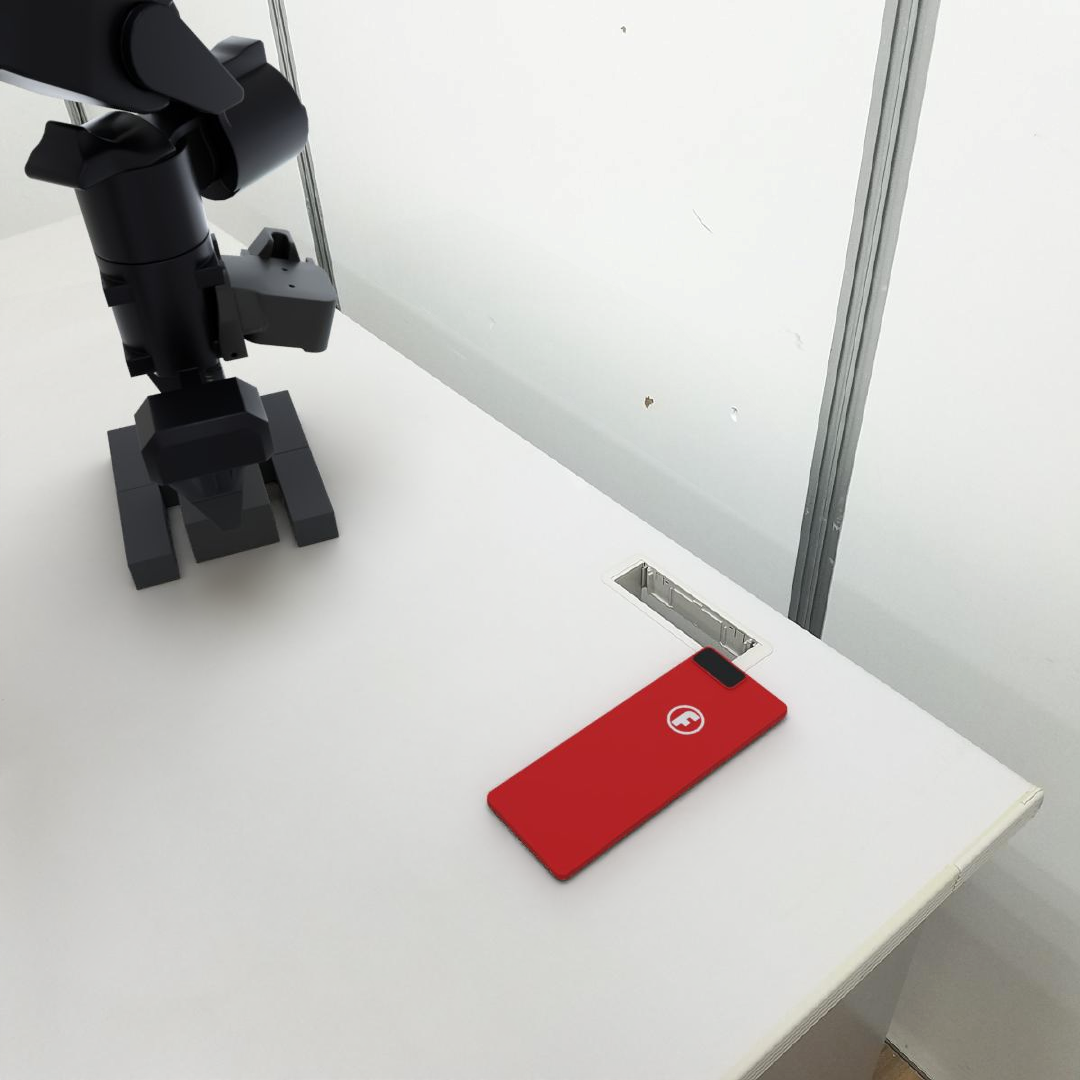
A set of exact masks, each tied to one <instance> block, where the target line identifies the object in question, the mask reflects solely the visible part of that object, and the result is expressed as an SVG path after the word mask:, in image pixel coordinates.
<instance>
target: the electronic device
mask: <svg viewBox="0 0 1080 1080" xmlns="http://www.w3.org/2000/svg"><path fill="white" fill-rule="evenodd" d="M787 715H788V705H787V704H786V702H784V701H783V700H782V699H780V698H779V697H778V696H776V695H775V694H774V693H773V692H771V691H770V690H768V689H767V688H766V687H764V685H762V684H761V683H759V682H758V681H757V680H755V679H754V678H753V677H752V676H751V675H749V674H748V673H746V671H744V670H742V669H741V668H740V667H739V666H737V665H736V664H735V663H734V662H732V661H731V660H730V659H729V658H728V657H726V656H725V655H723V654H722V653H721V652H720V651H718V649H715V648H714V647H712V646H705V647H701V649H699V650H698V651H695V653H693V654H692V655H690V656H689V657H687V658H686V659H684V660H683V661H681V662H680V663H679V664H677V665H676V666H674V667H672V668H671V669H669V670H668V671H667V672H665V673H663V674H662V675H660V676H659V677H658V678H656V679H655V680H653V681H652V682H650V683H648V684H647V685H646V686H644V687H643V688H641V689H640V690H638V691H637V692H636V693H634V694H632V695H630V696H629V697H628V698H626V699H625V700H623V701H622V702H620V703H619V704H618V705H616V706H615V707H613V708H612V709H610V710H608V711H607V712H606V713H604V714H603V715H601V716H600V717H598V718H597V719H595V720H594V721H592V722H591V723H589V724H588V725H586V726H585V727H583V728H582V729H581V730H579V731H577V732H576V733H574V734H572V736H570V737H568V738H567V739H565V740H563V741H562V742H561V743H560V744H558V745H557V746H555V747H554V748H552V749H551V750H549V751H547V752H546V753H545V754H543V755H541V756H540V757H539V758H537V759H535V760H534V761H532V762H531V763H530V764H528V765H527V766H525V767H524V768H522V769H521V770H519V771H518V772H516V773H515V774H513V775H512V776H510V777H509V778H508V779H506V780H504V781H503V782H501V783H500V784H499V785H497V786H495V787H494V788H492V789H491V790H489V791H488V793H487V795H486V803H487V806H488V808H490V809H491V810H492V811H493V812H494V814H495V815H496V816H497V817H498V818H499V819H500V820H501V821H502V822H503V823H504V824H505V826H506V827H508V829H509V830H511V832H512V833H513V834H514V835H515V836H516V837H517V838H518V839H519V840H520V841H521V843H523V844H524V845H525V847H527V849H528V850H529V851H530V852H531V853H532V854H533V855H534V857H536V859H538V860H539V861H540V862H541V864H542V865H543V866H544V867H545V868H546V869H547V870H548V871H549V872H550V873H551V875H553V876H554V878H556V879H557V880H560V881H566V880H569V879H570V878H572V876H574V875H576V874H577V873H578V872H580V871H581V870H582V869H583V868H585V867H586V866H588V865H589V864H590V863H592V862H593V861H594V860H596V859H598V857H600V856H601V855H603V853H606V852H607V850H609V849H610V848H612V847H613V846H614V845H616V844H617V843H618V842H620V841H621V840H622V839H624V838H625V837H626V836H628V835H629V834H631V833H632V832H633V831H634V830H636V829H637V828H639V827H640V826H641V825H642V824H644V823H646V821H649V819H650V818H653V816H654V815H656V814H657V813H658V812H660V811H661V810H662V809H664V808H665V807H667V806H668V805H670V804H671V803H672V802H673V801H675V800H676V799H677V798H679V797H680V796H681V795H683V794H685V792H687V791H688V790H689V789H691V788H692V787H694V786H695V785H697V784H698V783H699V782H700V781H701V780H703V779H704V778H706V777H707V776H708V775H709V774H711V773H712V772H714V771H715V770H716V769H718V768H719V767H720V766H722V765H723V764H724V763H726V762H727V761H728V760H730V759H731V758H732V757H734V756H735V755H736V754H738V753H739V752H741V751H742V750H743V749H744V748H746V747H747V746H749V745H750V744H752V743H753V742H754V741H755V740H756V739H758V738H759V737H761V736H762V735H763V734H764V733H767V731H769V730H770V729H771V728H772V727H774V726H775V725H776V724H778V723H780V721H782V720H784V718H786V717H787Z"/></svg>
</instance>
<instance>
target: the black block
mask: <svg viewBox="0 0 1080 1080" xmlns="http://www.w3.org/2000/svg"><path fill="white" fill-rule="evenodd" d="M177 493H178V492H177ZM178 498H179V502H180V504H179V507H180V511H181V516H182V520H183V524H184V528H185V531H186V534H187V537H188V540H189V544H190V547H191V550H192V552H193V556H194V559H195V562H196V563H198V564H199V563H201V562H206V561H209V560H213V559H217V558H218V559H219V558H221V557H225V556H229V555H233V554H237V553H240V552H243V551H248V550H251V549H252V550H253V549H256V548H259V547H263V546H267V545H271V544H276V543H279V542H280V541H281V539H280V536H279V532H278V528H277V523H276V520H275V519H276V518H275V515H274V511H273V506H272V504H271V503H272V502H271V499H270V497H269V493H268V491H267V488H266V485H265V483H264V481H263V478H262V475H261V471H260V468H259V465H258V463H256V464H252V465H248V466H246V467H245V473H244V487H243V509H242V526H241V527H240V528H239V529H235V530H231V531H227V532H223V531H221V530H220V529H219V528H218V527H217V526H216V525H214V524H213V523H212V522H211V521H210V520H209V519H208V518H207V517H206V516H204V515H203V514H202V513H201V512H200V511H199V510H198V509H197V508H196V507H195V506H193V505H192V504H191V503H190V502H189V501H188V500H186V499H185V498H184V497H183V496H182V495H181V494H179V493H178Z"/></svg>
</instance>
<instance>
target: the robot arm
mask: <svg viewBox="0 0 1080 1080" xmlns="http://www.w3.org/2000/svg"><path fill="white" fill-rule="evenodd" d="M180 14H181V13H180V11H179V9H178V7H177V5H176V4H175V1H174V0H0V82H1V83H5V84H7V85H10V86H14V87H17V88H19V89H23V90H26V91H28V92H32V93H34V94H38V95H40V96H45V97H51V98H56V99H60V100H66V101H71V102H76V103H80V104H81V103H82V104H86V105H91V106H97V107H101V108H107V109H111V111H108V112H105V113H103V114H101V115H99V116H97V117H95V118H93V119H91V120H88V121H87V122H85V123H82V124H81V125H79V124H74V123H69V122H64V121H58V120H54V119H49V120H47V121H46V123H45V126H44V131H43V134H42V136H41V139H40V140H39V142H38V143H37V144H36V145H35V147H34V148H33V149H32V150H31V152H30V154H29V156H28V158H27V161H26V163H25V165H24V169H23V170H24V174H25V175H26V176H27V178H29V179H31V180H35V181H39V182H45V183H49V184H52V185H57V186H62V187H66V188H70V189H73V190H74V193H75V196H76V200H77V203H78V206H79V208H80V212H81V216H82V219H83V221H84V225H85V228H86V231H87V234H88V237H89V240H90V243H91V246H92V251H93V253H94V257H95V259H96V263H97V266H98V269H99V270H98V272H99V275H100V282H101V288H102V291H103V292H102V293H103V295H104V298H105V301H106V304H107V307H108V308H111V310H112V314H113V317H114V320H115V323H116V326H117V329H118V332H119V335H120V338H121V341H122V342H121V343H122V344H121V345H122V348H123V354H124V360H125V363H126V367H127V370H128V373H129V376H130V378H136V377H140V376H145V375H146V376H147V377H148V378H149V379H150V381H151V382H152V383H153V385H154V386H155V388H156V389H157V390H158V391H159V393H155V394H150V395H147V396H146V397H145V398H144V400H143V402H142V403H141V405H140V406H139V407H138V409H137V410H136V412H134V414H133V417H134V423H135V424H136V429H137V435H138V440H139V445H140V451H141V454H142V458H143V461H144V464H145V467H146V470H147V473H148V476H149V479H150V482H152V483H156V484H159V485H162V486H165V485H169V486H170V487H172V488H173V489H174V490H175V491H177V492H178V493H179V494H181V495H182V496H183V497H184V498H185V499H186V500H188V501H189V502H190V503H191V504H192V505H193V506H195V507H196V508H197V509H198V510H199V511H200V512H201V513H202V514H203V515H204V516H206V517H207V518H208V519H209V520H210V521H211V522H212V523H213V524H214V525H216V526H217V527H218V528H219V529H220V530H221V531H223V532H227V531H231V530H235V529H239V528H240V527H241V526H242V509H243V487H244V473H245V467H246V466H248V465H252V464H256V463H261V462H265V461H267V460H268V459H269V458H270V457H271V456H272V455H273V454H274V453H275V447H274V443H273V439H272V434H271V430H270V426H269V422H268V419H267V416H266V413H265V410H264V407H263V404H262V401H261V398H260V396H261V395H260V392H259V390H258V387H257V386H255V385H253V384H251V383H249V382H247V381H245V380H243V379H241V378H239V377H237V376H232V377H226V374H225V369H224V367H223V363H222V361H224V362H232V361H236V360H241V359H245V358H249V353H248V348H247V345H246V341H247V342H250V343H251V344H255V345H262V346H271V347H272V346H273V347H281V348H293V349H302V350H303V352H305V353H310V354H311V353H312V354H318V353H319V354H320V353H323V352H325V351H327V349H328V346H329V341H330V338H331V337H330V336H331V331H332V326H333V322H334V317H335V312H336V309H337V308H336V307H337V303H338V298H339V296H338V294H337V292H336V290H335V287H334V286H333V284H332V282H331V280H330V278H329V275H328V274H327V272H326V270H325V269H324V268H323V267H321V266H319V265H317V264H316V262H315V260H314V259H313V257H305V260H304V261H302V260H301V258H300V254H299V251H298V249H297V246H296V244H295V241H294V239H293V237H292V234H291V233H290V230H287V229H282V228H275V227H267V226H265V227H263V228H262V229H261V231H260V232H259V233H258V234H257V236H256V237H255V238H254V240H253V241H252V242H251V243H250V245H249V246H248V248H241V249H240V255H233V254H221V251H220V246H219V243H218V240H217V237H216V234H215V233H214V232H211V231H210V228H209V223H208V219H207V214H206V210H205V206H204V202H203V198H204V199H206V200H210V201H214V202H215V201H216V202H218V201H220V202H221V201H226V200H229V199H231V198H233V197H236V195H238V194H240V193H241V192H243V191H244V190H246V189H247V188H249V187H250V186H253V185H255V184H256V183H257V182H259V181H261V180H262V179H264V178H265V177H267V176H269V175H270V174H272V173H273V172H275V171H276V170H278V169H280V168H281V167H283V166H284V165H286V164H288V163H289V162H290V161H292V160H294V159H295V158H297V157H298V156H299V155H300V154H301V153H303V151H304V149H305V146H306V145H307V142H308V137H309V132H310V130H309V126H310V125H309V117H308V116H309V115H308V112H307V108H306V106H305V105H304V104H303V103H302V102H301V100H300V98H299V95H298V93H297V92H296V90H295V88H294V87H293V86H292V83H291V82H290V81H289V80H288V79H287V78H286V76H285V75H284V74H283V72H281V71H280V70H279V69H277V68H276V67H275V66H273V64H271V63H270V62H268V59H267V54H266V53H267V52H266V49H265V43H264V42H263V41H262V40H261V39H257V38H251V37H244V36H238V35H231V36H228V37H226V38H224V39H222V40H220V41H219V42H217V43H216V44H215V45H214V46H213V47H212V48H211V49H209V48H208V46H206V45H205V43H203V41H202V39H200V38H199V37H198V36H197V35H196V33H195V32H194V31H193V30H192V29H191V28H190V27H189V25H188V24H187V23H186V22H185V21H184V19H182V18H181V15H180ZM112 110H113V111H112ZM221 359H222V361H221ZM135 424H134V425H135Z"/></svg>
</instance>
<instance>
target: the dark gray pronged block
mask: <svg viewBox="0 0 1080 1080" xmlns="http://www.w3.org/2000/svg"><path fill="white" fill-rule="evenodd" d="M260 398H261V401H262V404H263V407H264V410H265V413H266V416H267V419H268V422H269V426H270V430H271V434H272V439H273V443H274V447H275V453H274V454H273V455H272V456H271V457H270V458H269V459H268V460H267V461H265V462H261V463H258V465H259V468H260V471H261V475H262V478H263V481H264V484H265V483H269V482H273V481H276V483H277V488H278V489H279V492H280V495H281V498H282V499H281V500H282V502H283V505H284V507H285V508H284V509H285V511H286V513H287V517H288V519H289V523H290V526H291V529H292V531H293V535H294V538H295V542H296V544H297V547H298V548H301V547H305V546H308V545H313V544H317V543H320V542H324V541H327V540H331V539H335V538H338V537H339V536H340V534H339V530H338V524H337V519H336V515H335V514H336V513H335V511H334V510H335V509H334V508H333V505H332V503H331V500H330V497H329V494H328V492H327V489H326V487H325V484H324V482H323V479H322V476H321V474H320V471H319V468H318V465H317V463H316V460H315V457H314V455H313V452H312V450H311V447H310V445H309V442H308V441H309V440H308V439H307V436H306V434H305V431H304V428H303V426H302V423H301V421H300V418H299V415H298V413H297V410H296V407H295V405H294V402H293V399H292V397H291V394H290V392H289V390H288V389H284V390H281V391H280V390H279V391H276V392H272V393H267V394H263V395H260ZM106 435H107V441H108V442H107V443H108V447H109V454H110V459H111V465H112V473H113V479H114V486H115V493H116V499H117V507H118V513H119V519H120V525H121V533H122V538H123V539H122V540H123V545H124V552H125V557H126V563H127V565H126V566H127V568H128V570H129V573H130V575H131V578H132V581H133V583H134V586H135V589H136V590H141V589H145V588H149V587H153V586H156V585H161V584H164V583H168V582H171V581H176V580H179V579H181V575H180V569H179V565H178V560H177V555H176V550H175V546H174V541H173V536H172V532H171V531H172V530H171V527H170V521H169V517H168V510H167V508H168V507H173V506H176V505H180V502H179V498H178V493H177V491H175V490H174V489H173V488H172V487H170V486H169V485H165V486H162V485H159V484H156V483H152V482H150V479H149V476H148V473H147V470H146V467H145V464H144V461H143V458H142V454H141V451H140V445H139V440H138V435H137V429H136V424H131V425H126V426H123V427H118V428H114V429H109V430H107V431H106Z"/></svg>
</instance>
